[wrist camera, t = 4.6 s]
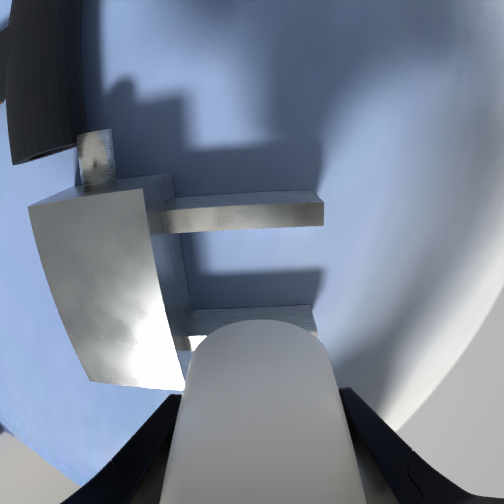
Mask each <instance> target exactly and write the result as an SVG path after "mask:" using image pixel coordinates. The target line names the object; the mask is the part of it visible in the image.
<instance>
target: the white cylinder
mask: <svg viewBox="0 0 504 504" xmlns="http://www.w3.org/2000/svg"><path fill="white" fill-rule="evenodd" d="M159 504H367V503H366V498H365V494H364V489H363V485H362V481H361V476H360V472H359V468H358V464H357V460H356V456H355V451H354V447H353V443H352V439H351V436H350V432H349V428H348V424H347V420H346V416H345V413H344V409H343V405H342V402H341V398H340V394H339V391H338V387H337V383H336V380H335V376H334V373H333V369H332V366H331V362H330V359H329V356H328V353H327V351H326V349H325V347H324V345H323V344H322V343H321V342H320V340H319V339H318V338H316V337H315V336H314V335H313V334H311V333H310V332H308V331H307V330H305V329H303V328H301V327H299V326H296V325H293V324H290V323H287V322H282V321H276V320H260V319H257V320H246V321H241V322H236V323H233V324H229V325H226V326H224V327H222V328H219V329H217V330H215V331H214V332H212V333H210V334H209V335H208V336H206V337H205V338H204V339H203V340H202V341H201V342H200V343H199V344H198V345H197V347H196V348H195V350H194V351H193V354H192V356H191V359H190V363H189V367H188V372H187V376H186V380H185V384H184V389H183V393H182V397H181V402H180V406H179V411H178V415H177V420H176V424H175V429H174V434H173V438H172V443H171V448H170V452H169V457H168V462H167V467H166V472H165V477H164V482H163V487H162V493H161V498H160V503H159Z"/></svg>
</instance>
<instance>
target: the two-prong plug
mask: <svg viewBox="0 0 504 504" xmlns="http://www.w3.org/2000/svg"><path fill="white" fill-rule="evenodd" d="M76 141H77V150H78V159H79V167H80V174H81V181H82V185H79V186H74V187H71V188H69V189H67V190H64V191H62V192H59V193H57V194H55V195H52V196H50V197H48V198H46V199H43V200H41V201H39V202H37V203H35V204H32V205H30V206H28V211H29V216H30V221H31V225H32V229H33V233H34V237H35V241H36V245H37V249H38V252H39V256H40V259H41V263H42V266H43V269H44V272H45V275H46V279H47V282H48V285H49V287H50V290H51V293H52V296H53V299H54V302H55V304H56V307H57V309H58V312H59V315H60V317H61V320H62V322H63V325H64V327H65V329H66V332H67V334H68V336H69V339H70V341H71V343H72V345H73V348H74V350H75V352H76V354H77V356H78V358H79V360H80V362H81V364H82V366H83V368H84V370H85V372H86V374H87V376H88V378H89V380H90V381H94V382H100V383H107V384H115V385H123V386H133V387H143V388H155V389H169V390H183V389H184V384H185V380H186V376H187V372H188V367H189V363H190V359H191V356H192V354H193V351H194V350H195V348H196V347H197V345H198V344H199V343H200V342H201V341H202V340H203V339H204V338H205V337H206V336H208V335H209V334H210V333H212V332H214V331H215V330H217V329H219V328H222V327H224V326H226V325H229V324H233V323H236V322H241V321H246V320H257V319H260V320H276V321H282V322H287V323H290V324H293V325H296V326H299V327H301V328H303V329H305V330H307V331H308V332H310V333H311V334H313V335H314V336H315V337H316V338H317V333H318V331H317V327H316V324H315V320H314V317H313V314H312V310H311V307H310V304H308V305H293V306H275V307H255V308H229V309H192V307H191V301H190V296H189V290H188V284H187V278H186V272H185V266H184V259H183V253H182V246H181V239H180V233H186V232H203V231H220V230H238V229H258V228H280V227H303V226H323V224H324V202H323V201H322V200H321V199H320V198H319V197H318V196H317V195H316V193H315V192H314V191H313V190H301V191H272V192H251V193H233V194H218V195H204V196H191V197H179V198H175V192H174V184H173V174H172V172H168V173H160V174H151V175H143V176H136V177H129V178H122V179H117V174H116V166H115V158H114V149H113V139H112V129H104V130H98V131H92V132H88V133H84V134H80V135H77V136H76Z"/></svg>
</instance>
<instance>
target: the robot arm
mask: <svg viewBox="0 0 504 504" xmlns="http://www.w3.org/2000/svg"><path fill="white" fill-rule="evenodd" d="M338 391H339V394H340V398H341V402H342V405H343V409H344V413H345V416H346V420H347V424H348V428H349V432H350V436H351V439H352V443H353V447H354V451H355V456H356V460H357V464H358V468H359V472H360V476H361V481H362V485H363V489H364V494H365V498H366V503H367V504H504V499H503V498H493V497H483V496H477V495H473V494H471V493H468V492H466V491H464V490H463V489H461V488H460V487H458V486H457V485H456V484H454V483H453V482H451V481H450V480H449V479H447V478H446V477H444V476H443V475H442V474H440V473H439V472H438V471H436V470H435V469H433V468H432V467H431V466H430V465H429V464H428V463H426V462H425V461H424V460H423V459H422V458H421V457H420V456H419V455H418V454H417V453H416V452H415V451H412V448H411V447H409V446H408V445H407V444H406V443H405V442H404V441H403V440H402V439H401V438H400V437H399V436H398V435H397V434H396V433H395V432H394V431H393V430H392V429H391V428H390V427H389V426H388V425H387V424H386V423H385V422H384V421H383V420H382V419H381V418H380V417H379V416H378V415H377V414H376V413H375V412H374V411H373V410H372V409H371V408H370V407H369V406H368V405H367V404H366V403H365V402H364V401H363V400H362V399H361V398H360V397H359V396H358V395H357V394H356V393H355V392H354V391H353V390H352V389H351V388H350V387H345V388H339V389H338ZM181 397H182V395H181V394H171V395H169V396H168V397H167V399H166V400H165V401H164V402H163V403H162V404H161V405H160V406H159V408H158V409H157V410H156V411H155V412H154V413H153V414H152V415H151V416H150V418H149V419H148V420H147V421H146V422H145V423H144V424H143V425H142V426H141V428H140V429H139V430H138V431H137V432H136V433H135V434H134V435H133V436H132V437H131V439H130V440H129V441H128V442H127V443H126V444H125V445H124V446H123V447H122V448H121V449H120V451H119V452H118V453H117V454H116V455H115V456H114V457H113V458H112V459H111V461H109V462H108V463H107V464H106V465H105V466H104V467H103V468H102V469H101V470H100V471H99V472H98V473H97V474H96V475H95V476H94V477H93V478H92V479H91V480H90V481H89V482H87V483H86V484H85V485H84V486H82V487H81V488H80V489H79V490H77V491H76V492H75V493H74V494H72V495H71V496H70V497H69V498H67V499H66V500H65V501H63V502H62V503H60V504H159V503H160V498H161V493H162V487H163V482H164V477H165V472H166V467H167V462H168V457H169V452H170V448H171V443H172V438H173V434H174V429H175V424H176V420H177V415H178V411H179V406H180V402H181Z"/></svg>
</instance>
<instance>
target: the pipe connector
mask: <svg viewBox="0 0 504 504" xmlns="http://www.w3.org/2000/svg"><path fill="white" fill-rule="evenodd" d="M81 1H82V0H12V5H11V11H10V18H9V26H8V27H7V28H5V29H4V30H2V31H1V32H0V104H1V103H3V102H4V100H5V99H6V109H7V123H8V133H9V142H10V150H11V157H12V164H13V165H18V164H22V163H26V162H29V161H33V160H36V159H40V158H43V157H46V156H49V155H53V154H56V153H59V152H62V151H65V150H68V149H71V148H74V147H77V141H76V136H77V135H80V134H84V133H87V128H86V120H85V111H84V101H83V89H82V73H81V39H80V35H81Z"/></svg>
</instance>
